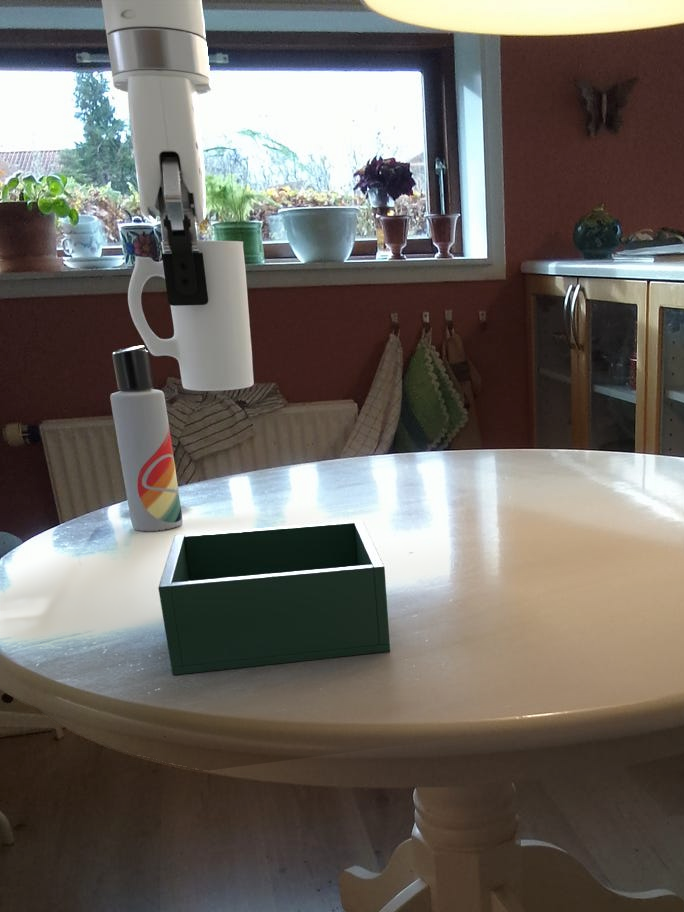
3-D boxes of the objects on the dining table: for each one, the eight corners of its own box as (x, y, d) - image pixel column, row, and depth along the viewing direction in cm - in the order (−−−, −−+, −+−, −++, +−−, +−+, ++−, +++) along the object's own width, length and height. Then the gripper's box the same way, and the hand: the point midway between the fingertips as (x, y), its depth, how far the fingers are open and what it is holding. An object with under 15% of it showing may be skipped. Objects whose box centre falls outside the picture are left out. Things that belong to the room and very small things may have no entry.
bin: (172, 675, 66) (158, 586, 63) (185, 610, 79) (174, 535, 76) (390, 651, 69) (384, 566, 66) (368, 592, 82) (362, 520, 80)
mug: (249, 380, 87) (235, 242, 83) (264, 388, 82) (250, 240, 77) (137, 387, 83) (116, 242, 79) (144, 395, 78) (122, 240, 73)
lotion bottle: (189, 526, 107) (162, 345, 99) (138, 534, 104) (107, 349, 97) (176, 517, 111) (149, 343, 104) (127, 524, 108) (96, 347, 101)
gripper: (122, 87, 81) (152, 304, 87) (96, 38, 65) (135, 307, 71) (211, 89, 82) (234, 302, 89) (206, 42, 67) (235, 304, 73)
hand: (190, 302), depth 80 cm, fingers closed on mug, 6 cm apart
